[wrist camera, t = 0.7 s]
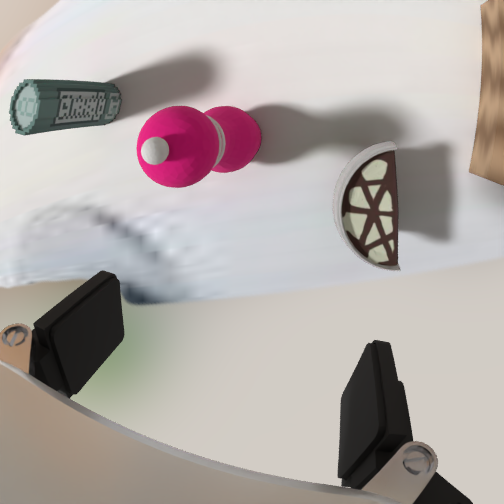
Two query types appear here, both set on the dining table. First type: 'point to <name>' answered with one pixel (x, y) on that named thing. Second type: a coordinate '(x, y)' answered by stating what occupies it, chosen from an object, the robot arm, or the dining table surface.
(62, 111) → the dark green cylinder
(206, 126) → the pepper mill
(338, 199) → the food container
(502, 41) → the wooden egg rack
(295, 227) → the dining table surface
